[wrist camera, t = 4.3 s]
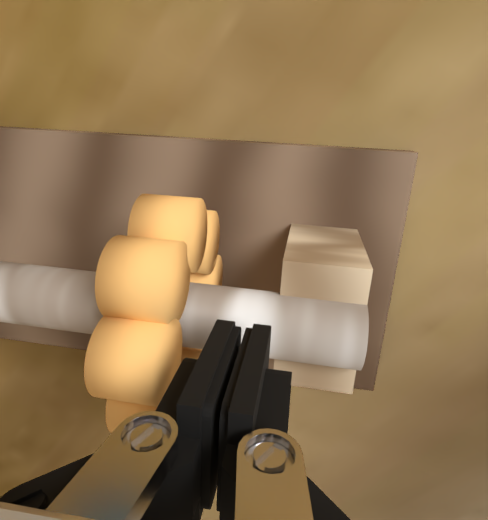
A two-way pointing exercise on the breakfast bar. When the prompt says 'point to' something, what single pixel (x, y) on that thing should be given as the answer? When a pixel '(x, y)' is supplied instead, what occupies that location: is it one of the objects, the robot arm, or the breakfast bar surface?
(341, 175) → the pipe stand
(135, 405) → the tan lobed rosette
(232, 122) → the breakfast bar surface
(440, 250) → the breakfast bar surface
